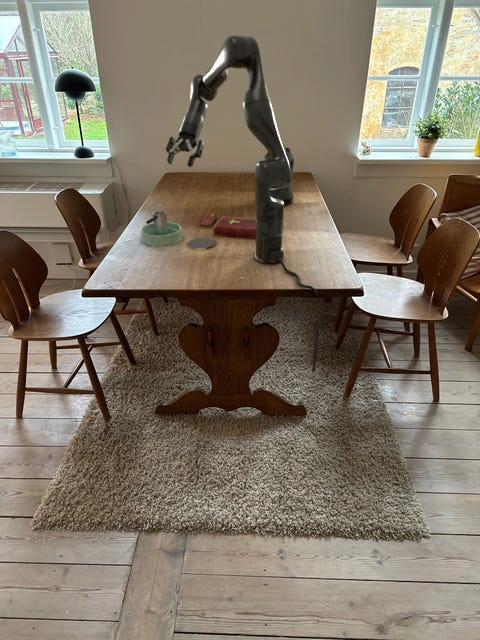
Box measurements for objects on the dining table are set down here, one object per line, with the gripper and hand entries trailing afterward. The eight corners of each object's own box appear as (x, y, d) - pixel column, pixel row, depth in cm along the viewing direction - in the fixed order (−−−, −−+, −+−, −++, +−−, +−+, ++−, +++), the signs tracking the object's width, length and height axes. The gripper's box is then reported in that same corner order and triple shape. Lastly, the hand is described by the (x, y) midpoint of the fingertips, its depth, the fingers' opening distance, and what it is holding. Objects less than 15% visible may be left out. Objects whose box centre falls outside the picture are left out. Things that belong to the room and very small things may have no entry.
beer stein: (256, 205, 209) (256, 149, 196) (261, 193, 226) (262, 140, 213) (291, 207, 207) (295, 150, 194) (295, 195, 223) (298, 141, 210)
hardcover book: (266, 240, 173) (266, 230, 171) (213, 235, 177) (213, 225, 175) (272, 229, 183) (272, 219, 181) (222, 225, 187) (221, 215, 185)
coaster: (216, 248, 167) (216, 246, 167) (189, 250, 165) (189, 249, 165) (212, 238, 175) (212, 236, 175) (186, 240, 173) (186, 239, 173)
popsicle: (218, 212, 196) (210, 224, 184) (218, 216, 197) (210, 228, 185) (208, 211, 197) (199, 223, 185) (208, 215, 198) (199, 228, 186)
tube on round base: (160, 235, 177) (157, 210, 171) (171, 237, 175) (168, 211, 170) (143, 245, 168) (140, 219, 163) (155, 247, 166) (152, 220, 161)
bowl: (184, 245, 169) (183, 234, 167) (142, 249, 166) (141, 237, 164) (180, 231, 182) (179, 220, 180) (141, 234, 179) (139, 223, 177)
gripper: (171, 118, 172) (158, 157, 170) (205, 121, 167) (191, 161, 165) (179, 130, 179) (167, 167, 177) (211, 133, 174) (199, 172, 172)
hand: (179, 164), depth 171 cm, fingers open, 8 cm apart
